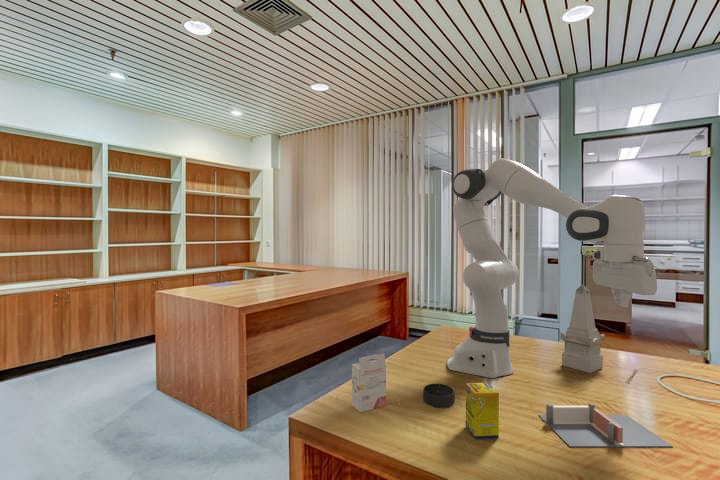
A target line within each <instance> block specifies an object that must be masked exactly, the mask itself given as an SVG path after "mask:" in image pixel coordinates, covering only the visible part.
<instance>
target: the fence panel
mask: <svg viewBox="0 0 720 480" xmlns="http://www.w3.org/2000/svg"><path fill="white" fill-rule="evenodd" d="M606 415H607V414H605V413H603V412H602V411H601V410H599V409H598V408H595V409H593V423H594V424H595V425H596V426H598V427H599V428H600V429H601V430H602V431H604V432H605V433H606V434H607V435H608V422H611V423H614V440H615V441H616V442H617V443H623V427H621V426H620V425H619V424H617V423H616V422H614V421H613V420H612V419H610V418H609V417H608V416H606Z"/></svg>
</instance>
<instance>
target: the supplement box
mask: <svg viewBox="0 0 720 480" xmlns="http://www.w3.org/2000/svg"><path fill="white" fill-rule="evenodd" d="M499 413H500V393H499V392H498V391H497V390H496V389H495V388H494V387H493V386H492V385H491V384H490V383H489V382H468V383H467V382H466V383H465V427H466V429H467V430H468V431H469V433H470V434H471V435H472V437H473V439H474V440H476V441H477V440H491V439H492V440H493V439H499V437H500V436H499V432H500V431H499V425H500V423H499V422H500V420H499V419H500V417H499V415H500V414H499Z"/></svg>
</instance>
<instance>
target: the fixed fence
mask: <svg viewBox="0 0 720 480" xmlns="http://www.w3.org/2000/svg"><path fill="white" fill-rule="evenodd" d="M545 406H546V407H545V409H546V411H545V415H546V422H547V423H549V424H553V423H589V422H590V423H593V409H596V404H595V403H592V402H591V403H588V405H553V404H550V403H546V405H545ZM608 442H609V443H611V444H614V423H611V422H608Z"/></svg>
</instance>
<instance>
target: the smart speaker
mask: <svg viewBox="0 0 720 480" xmlns="http://www.w3.org/2000/svg"><path fill="white" fill-rule="evenodd" d="M422 400H423V401H424V403H425V404H427V405H428V406H429V407H432V408H437V409H446V408H450V407H452V406H453V405H454V404H455V402H456V393H455V390H454V389H453V388H452V387H451V386H449V385H448V384H444V383H429V384H426V385H425V386H424V387H423V389H422Z"/></svg>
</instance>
